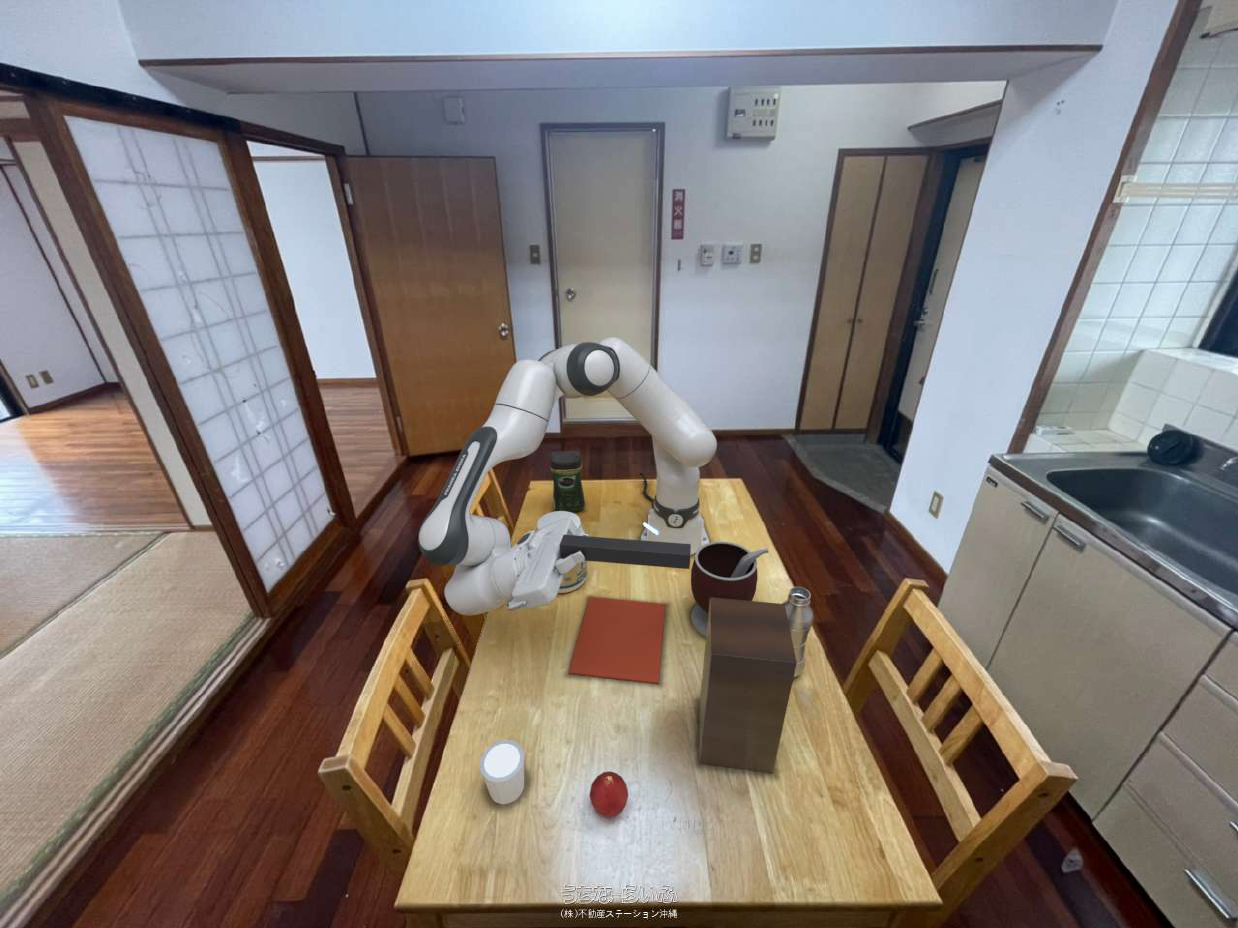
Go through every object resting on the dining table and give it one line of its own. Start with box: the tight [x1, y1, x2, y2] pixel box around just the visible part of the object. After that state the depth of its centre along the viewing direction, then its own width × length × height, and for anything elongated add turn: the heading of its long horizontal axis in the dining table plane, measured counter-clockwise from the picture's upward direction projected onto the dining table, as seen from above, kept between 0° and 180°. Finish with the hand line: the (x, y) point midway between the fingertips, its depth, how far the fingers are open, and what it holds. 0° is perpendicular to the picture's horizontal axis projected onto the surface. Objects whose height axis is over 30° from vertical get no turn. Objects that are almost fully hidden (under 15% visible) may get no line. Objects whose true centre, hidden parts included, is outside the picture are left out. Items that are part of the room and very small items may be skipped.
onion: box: [589, 771, 629, 818], centre depth 79 cm, size 6×6×8 cm
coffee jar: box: [549, 450, 586, 513], centre depth 154 cm, size 10×8×19 cm
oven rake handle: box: [560, 535, 692, 570], centre depth 88 cm, size 3×22×3 cm, turn 82°
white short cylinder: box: [479, 739, 525, 805], centre depth 82 cm, size 7×7×7 cm
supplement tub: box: [535, 510, 588, 594], centre depth 125 cm, size 12×12×17 cm
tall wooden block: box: [699, 597, 797, 774], centre depth 85 cm, size 12×12×26 cm
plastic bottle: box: [781, 586, 815, 678], centre depth 99 cm, size 6×7×20 cm
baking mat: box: [568, 596, 666, 685], centre depth 112 cm, size 22×18×1 cm
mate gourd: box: [690, 540, 769, 638], centre depth 111 cm, size 16×14×20 cm
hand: (586, 546), depth 88 cm, fingers closed on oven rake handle, 3 cm apart
